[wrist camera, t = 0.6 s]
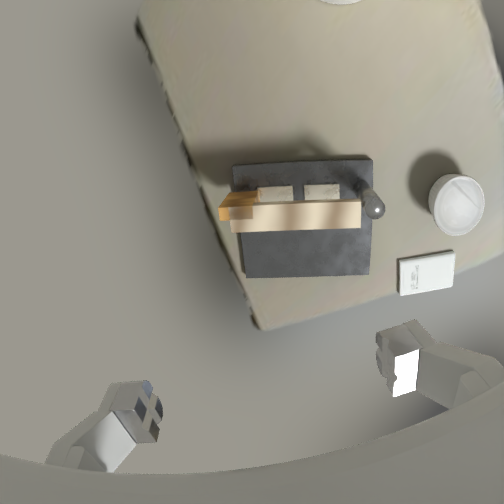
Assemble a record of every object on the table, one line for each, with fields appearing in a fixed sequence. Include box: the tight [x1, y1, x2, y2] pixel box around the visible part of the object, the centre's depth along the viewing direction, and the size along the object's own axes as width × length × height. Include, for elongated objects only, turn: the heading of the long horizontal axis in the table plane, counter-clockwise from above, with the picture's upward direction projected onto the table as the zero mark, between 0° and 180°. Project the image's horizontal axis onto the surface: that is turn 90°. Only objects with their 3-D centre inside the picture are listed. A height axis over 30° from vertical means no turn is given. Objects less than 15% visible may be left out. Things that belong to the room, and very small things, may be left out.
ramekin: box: [428, 174, 484, 236], centre depth 49 cm, size 11×11×5 cm
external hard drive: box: [399, 251, 455, 296], centre depth 58 cm, size 2×8×12 cm
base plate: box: [232, 159, 385, 278], centre depth 52 cm, size 22×24×12 cm
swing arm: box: [218, 191, 361, 233], centre depth 49 cm, size 20×4×8 cm, turn 96°
